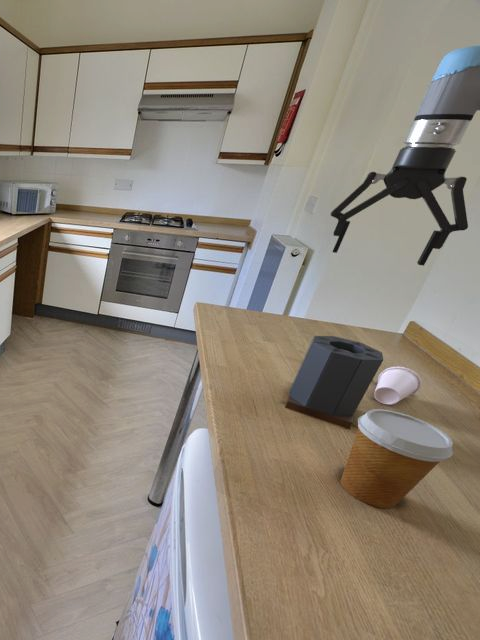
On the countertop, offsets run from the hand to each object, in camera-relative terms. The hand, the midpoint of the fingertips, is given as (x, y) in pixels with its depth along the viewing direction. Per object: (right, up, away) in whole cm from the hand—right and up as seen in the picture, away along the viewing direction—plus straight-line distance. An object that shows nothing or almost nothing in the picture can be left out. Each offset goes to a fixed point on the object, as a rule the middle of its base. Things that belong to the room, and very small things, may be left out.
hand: (375, 257), depth 86 cm
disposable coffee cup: (-27, -41, -25) cm, 55 cm away
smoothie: (-2, -29, -4) cm, 29 cm away
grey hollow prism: (-16, -30, -5) cm, 34 cm away
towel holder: (-16, -31, -5) cm, 35 cm away
